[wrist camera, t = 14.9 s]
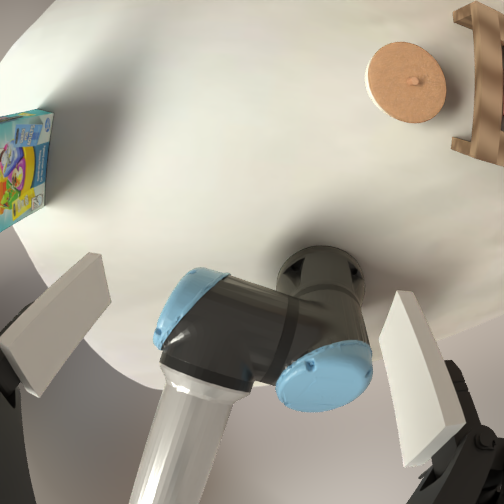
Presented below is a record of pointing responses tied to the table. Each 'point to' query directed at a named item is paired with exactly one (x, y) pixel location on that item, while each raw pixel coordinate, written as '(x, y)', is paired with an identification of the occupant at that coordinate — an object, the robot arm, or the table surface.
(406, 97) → the lidded jar
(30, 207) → the game box
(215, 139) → the table surface
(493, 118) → the wooden frame with rod
